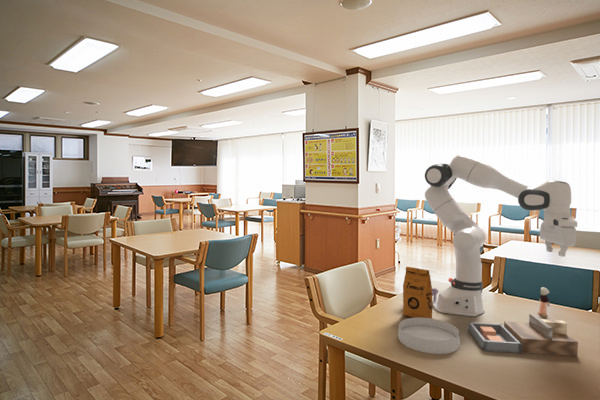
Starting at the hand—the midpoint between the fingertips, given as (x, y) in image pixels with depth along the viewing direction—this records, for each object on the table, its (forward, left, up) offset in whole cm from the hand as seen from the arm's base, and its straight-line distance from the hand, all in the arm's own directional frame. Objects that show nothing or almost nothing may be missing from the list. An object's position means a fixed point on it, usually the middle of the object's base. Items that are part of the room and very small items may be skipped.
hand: (555, 253), depth 151 cm
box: (-29, -17, -31) cm, 46 cm away
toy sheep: (-50, +23, -31) cm, 63 cm away
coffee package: (-53, +4, -31) cm, 62 cm away
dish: (-53, -20, -32) cm, 65 cm away
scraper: (-9, -17, -26) cm, 32 cm away
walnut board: (-13, -17, -31) cm, 38 cm away
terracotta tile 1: (-30, -21, -28) cm, 46 cm away
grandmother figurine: (+4, +16, -31) cm, 35 cm away
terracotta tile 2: (-29, -13, -28) cm, 43 cm away
